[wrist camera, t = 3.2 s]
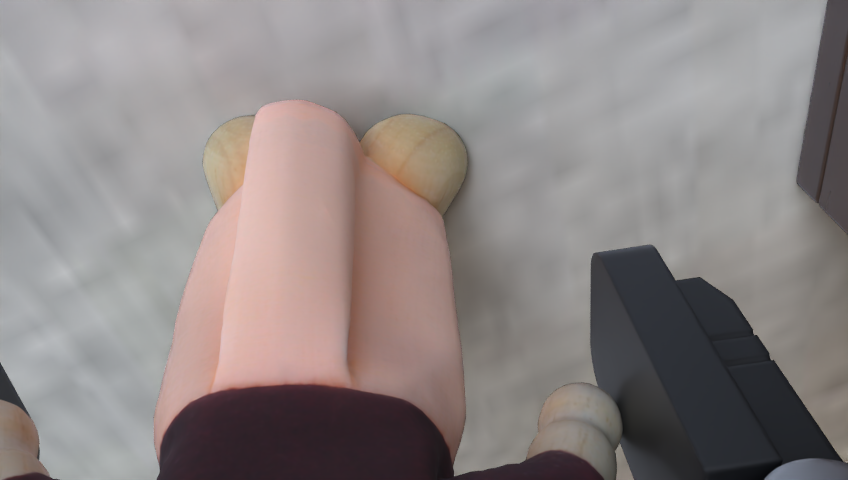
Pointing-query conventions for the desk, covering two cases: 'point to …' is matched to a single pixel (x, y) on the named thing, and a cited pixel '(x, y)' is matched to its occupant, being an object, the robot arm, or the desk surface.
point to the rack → (829, 120)
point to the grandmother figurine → (330, 319)
